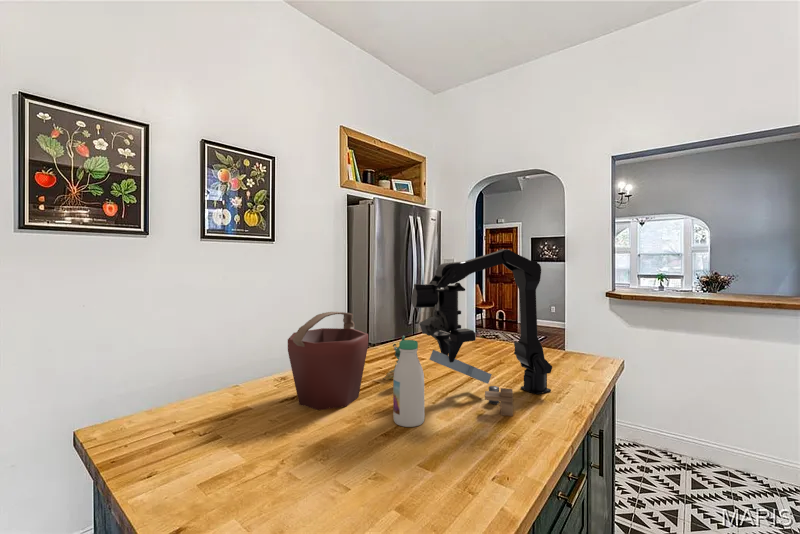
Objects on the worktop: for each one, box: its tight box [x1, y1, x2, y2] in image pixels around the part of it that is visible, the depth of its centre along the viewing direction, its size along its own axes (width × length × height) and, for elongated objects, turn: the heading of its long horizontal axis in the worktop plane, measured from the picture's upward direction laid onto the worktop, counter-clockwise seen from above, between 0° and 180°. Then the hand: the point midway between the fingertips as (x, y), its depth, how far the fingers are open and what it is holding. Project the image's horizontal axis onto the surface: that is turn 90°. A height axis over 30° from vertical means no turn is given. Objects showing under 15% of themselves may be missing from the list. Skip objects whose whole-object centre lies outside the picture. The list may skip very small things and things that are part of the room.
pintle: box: [488, 385, 500, 405], centre depth 108 cm, size 3×3×4 cm
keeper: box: [484, 387, 514, 417], centre depth 100 cm, size 4×7×6 cm, turn 77°
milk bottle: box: [392, 339, 425, 428], centre depth 95 cm, size 8×8×20 cm
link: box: [429, 349, 493, 385], centre depth 112 cm, size 19×7×3 cm, turn 117°
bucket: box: [287, 311, 369, 411], centre depth 111 cm, size 24×22×25 cm
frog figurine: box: [383, 335, 406, 381], centre depth 134 cm, size 10×18×15 cm, turn 129°
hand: (448, 360), depth 111 cm, fingers closed on link, 3 cm apart
